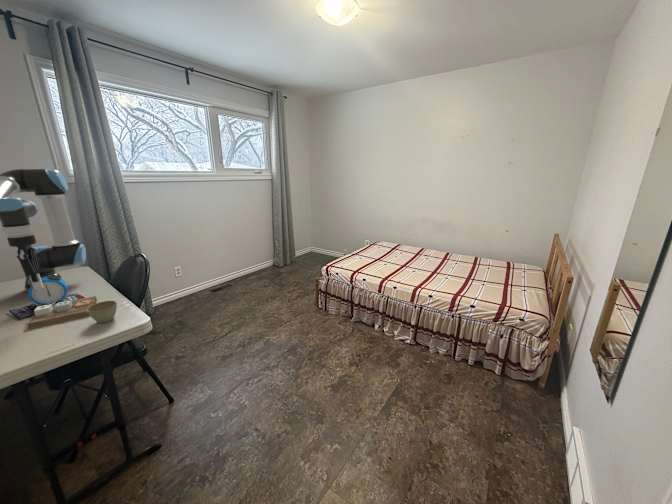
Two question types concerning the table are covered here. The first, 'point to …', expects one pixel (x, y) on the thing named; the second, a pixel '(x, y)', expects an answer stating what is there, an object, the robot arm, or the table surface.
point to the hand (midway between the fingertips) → (38, 287)
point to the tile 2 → (83, 303)
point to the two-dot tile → (63, 306)
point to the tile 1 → (43, 310)
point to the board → (61, 314)
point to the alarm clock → (49, 290)
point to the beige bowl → (103, 311)
